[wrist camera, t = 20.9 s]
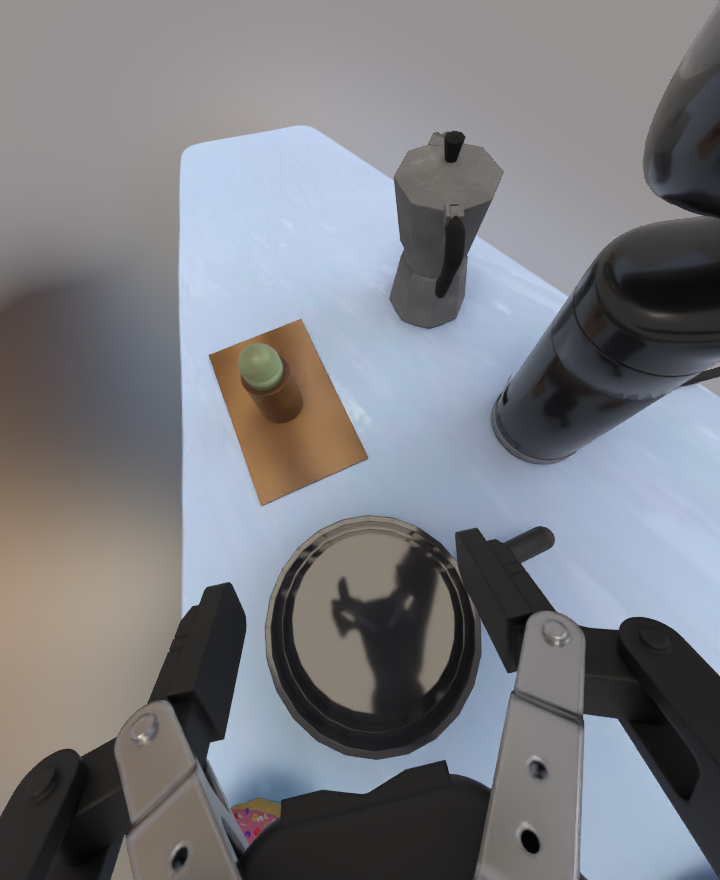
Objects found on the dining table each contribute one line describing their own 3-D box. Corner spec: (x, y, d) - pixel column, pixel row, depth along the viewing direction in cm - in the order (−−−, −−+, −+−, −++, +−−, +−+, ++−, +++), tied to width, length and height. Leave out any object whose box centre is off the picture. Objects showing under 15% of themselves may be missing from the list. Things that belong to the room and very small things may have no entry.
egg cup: (304, 384, 41) (282, 328, 32) (301, 423, 39) (278, 375, 30) (263, 385, 41) (229, 330, 32) (259, 423, 40) (222, 377, 30)
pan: (413, 495, 36) (417, 484, 32) (504, 674, 30) (525, 690, 26) (255, 568, 34) (238, 567, 30) (321, 773, 29) (311, 807, 24)
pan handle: (540, 524, 32) (549, 521, 30) (553, 545, 32) (564, 543, 30) (452, 567, 31) (456, 567, 29) (463, 590, 31) (469, 591, 29)
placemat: (301, 320, 45) (300, 318, 44) (368, 458, 38) (368, 457, 38) (209, 356, 43) (208, 355, 43) (261, 505, 37) (260, 505, 36)
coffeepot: (387, 260, 47) (392, 88, 31) (459, 258, 47) (504, 81, 30) (390, 359, 42) (399, 216, 25) (471, 357, 42) (535, 210, 25)
